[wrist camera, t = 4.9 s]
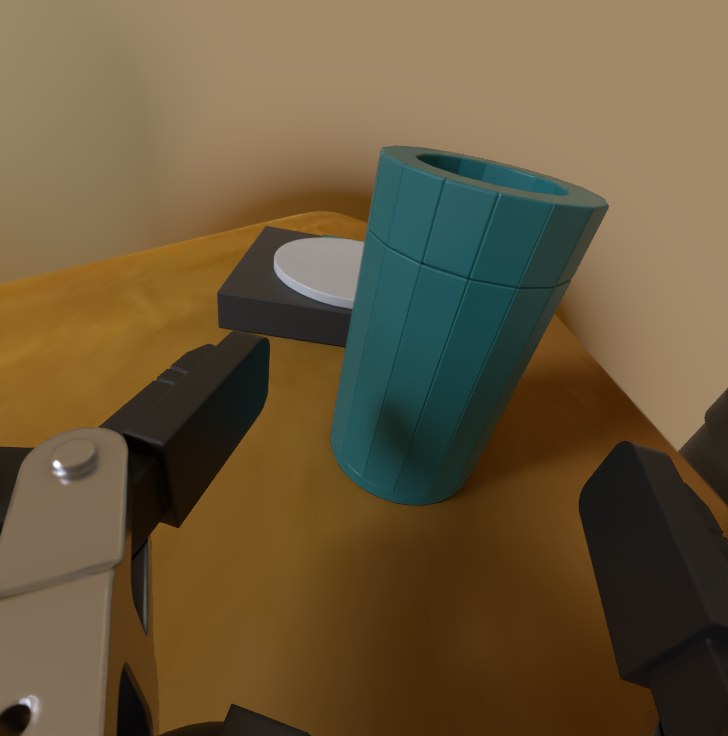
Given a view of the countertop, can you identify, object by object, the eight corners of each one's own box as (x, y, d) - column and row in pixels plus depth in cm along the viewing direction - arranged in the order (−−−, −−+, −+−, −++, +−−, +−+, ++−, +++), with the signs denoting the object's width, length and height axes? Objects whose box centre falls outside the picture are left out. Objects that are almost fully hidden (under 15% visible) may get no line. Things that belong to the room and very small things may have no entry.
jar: (456, 406, 20) (554, 173, 14) (485, 514, 15) (660, 224, 9) (335, 389, 20) (379, 137, 13) (323, 495, 14) (385, 169, 8)
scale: (432, 282, 33) (442, 249, 31) (459, 365, 23) (475, 324, 22) (264, 252, 32) (265, 217, 30) (218, 327, 22) (216, 281, 20)
